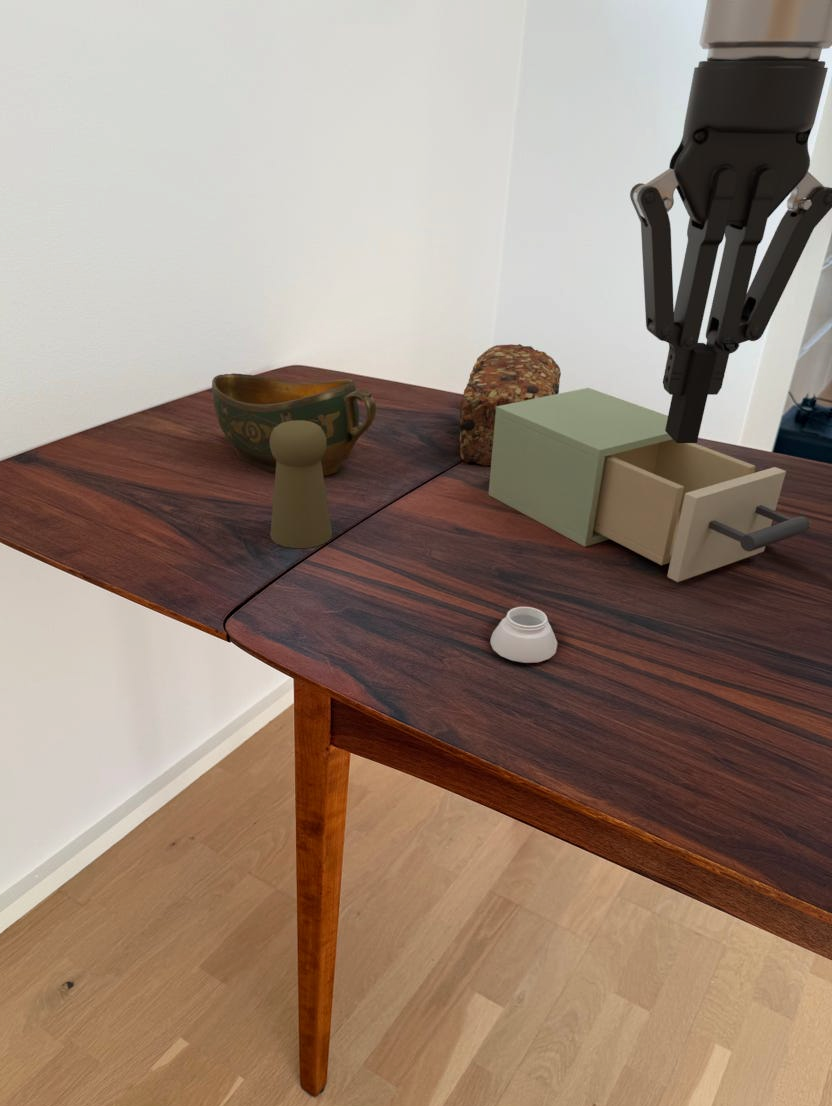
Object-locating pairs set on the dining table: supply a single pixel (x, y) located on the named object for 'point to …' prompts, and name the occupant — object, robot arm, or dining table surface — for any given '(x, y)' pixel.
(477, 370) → the bread
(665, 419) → the cabinet
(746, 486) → the drawer
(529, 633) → the white jar
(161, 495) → the dining table surface
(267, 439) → the gravy boat
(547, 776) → the dining table surface
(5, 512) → the dining table surface
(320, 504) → the olive pawn
